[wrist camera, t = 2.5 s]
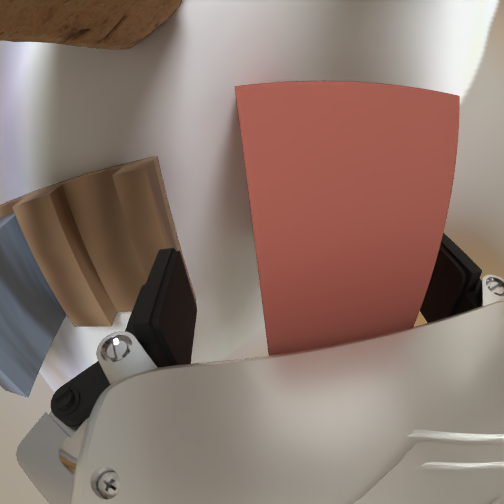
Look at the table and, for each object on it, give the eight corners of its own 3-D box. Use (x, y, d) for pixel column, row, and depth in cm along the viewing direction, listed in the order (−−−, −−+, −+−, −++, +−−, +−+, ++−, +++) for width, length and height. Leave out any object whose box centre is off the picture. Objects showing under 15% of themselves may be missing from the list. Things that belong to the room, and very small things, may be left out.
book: (296, 82, 17) (459, 96, 3) (304, 232, 23) (368, 416, 10) (238, 87, 17) (234, 86, 4) (257, 237, 23) (278, 433, 10)
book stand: (157, 156, 19) (27, 315, 6) (196, 299, 27) (177, 464, 14) (-18, 212, 20) (-104, 306, 6) (32, 308, 28) (-19, 409, 14)
